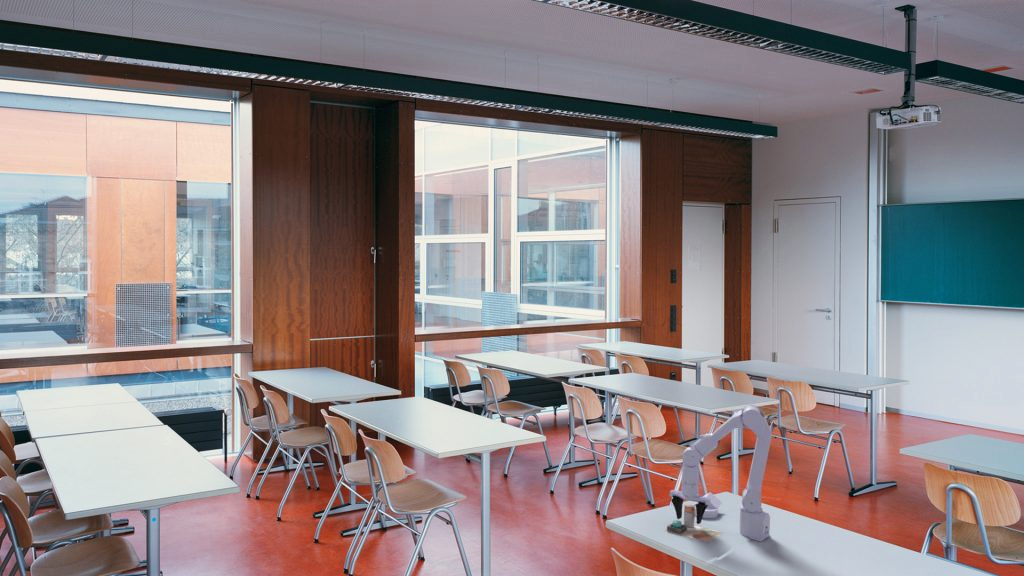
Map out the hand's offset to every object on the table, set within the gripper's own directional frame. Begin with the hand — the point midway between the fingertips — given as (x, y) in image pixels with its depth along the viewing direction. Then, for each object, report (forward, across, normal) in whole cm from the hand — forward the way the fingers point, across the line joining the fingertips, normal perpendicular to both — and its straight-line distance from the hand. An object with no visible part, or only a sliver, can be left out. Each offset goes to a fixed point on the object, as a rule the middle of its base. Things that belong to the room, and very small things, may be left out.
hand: (689, 520), depth 278 cm
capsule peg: (+2, 0, 0) cm, 2 cm away
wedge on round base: (+3, -2, +18) cm, 18 cm away
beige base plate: (+3, +4, -4) cm, 6 cm away
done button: (+2, -1, -7) cm, 7 cm away
